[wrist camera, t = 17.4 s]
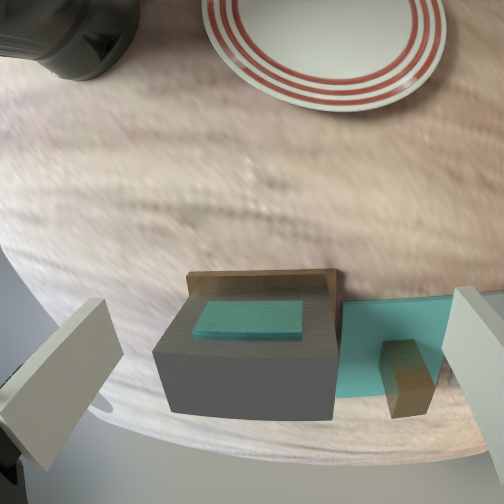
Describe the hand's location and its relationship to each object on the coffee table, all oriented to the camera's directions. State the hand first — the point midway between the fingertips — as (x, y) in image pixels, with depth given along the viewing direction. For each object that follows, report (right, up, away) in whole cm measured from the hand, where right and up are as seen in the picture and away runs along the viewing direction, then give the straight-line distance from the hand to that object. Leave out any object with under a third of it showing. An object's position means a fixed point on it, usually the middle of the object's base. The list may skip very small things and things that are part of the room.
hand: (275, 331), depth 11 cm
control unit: (+1, -5, +30) cm, 30 cm away
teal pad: (+19, -11, +29) cm, 36 cm away
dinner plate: (+8, +31, +17) cm, 36 cm away
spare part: (+19, -11, +28) cm, 36 cm away
